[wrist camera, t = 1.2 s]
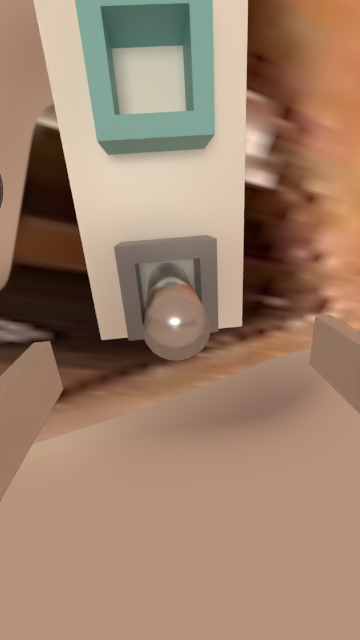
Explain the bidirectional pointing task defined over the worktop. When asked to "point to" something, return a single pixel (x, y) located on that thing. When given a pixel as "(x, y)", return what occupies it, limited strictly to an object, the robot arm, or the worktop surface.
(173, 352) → the lock pin
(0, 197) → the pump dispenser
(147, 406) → the worktop surface
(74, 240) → the worktop surface
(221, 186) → the mount board
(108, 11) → the socket
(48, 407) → the robot arm
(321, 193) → the worktop surface
